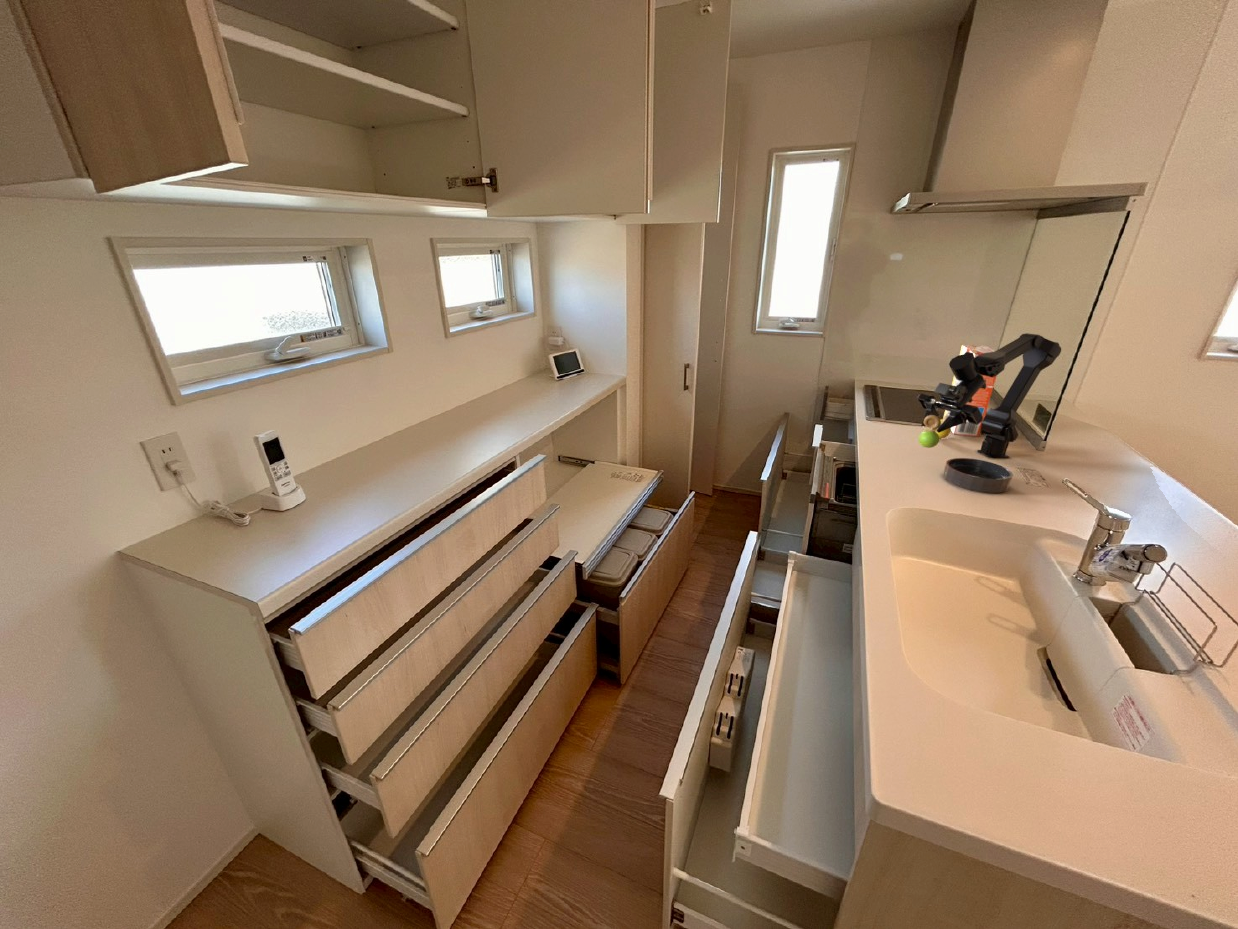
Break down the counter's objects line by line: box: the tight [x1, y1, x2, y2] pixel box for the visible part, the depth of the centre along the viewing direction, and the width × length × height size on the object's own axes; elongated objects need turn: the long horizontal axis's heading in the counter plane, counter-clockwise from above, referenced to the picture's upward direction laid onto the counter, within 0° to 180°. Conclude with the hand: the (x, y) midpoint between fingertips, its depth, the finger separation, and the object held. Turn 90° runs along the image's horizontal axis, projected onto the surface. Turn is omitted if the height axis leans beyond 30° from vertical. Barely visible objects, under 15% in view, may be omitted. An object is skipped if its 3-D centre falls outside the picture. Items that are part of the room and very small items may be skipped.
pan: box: [942, 457, 1014, 494], centre depth 147 cm, size 16×16×4 cm
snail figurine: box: [918, 412, 950, 449], centre depth 152 cm, size 5×6×12 cm
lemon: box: [935, 418, 952, 440], centre depth 181 cm, size 6×6×8 cm
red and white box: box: [943, 344, 997, 437], centre depth 191 cm, size 23×8×30 cm, turn 157°
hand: (929, 429), depth 152 cm, fingers closed on snail figurine, 5 cm apart
